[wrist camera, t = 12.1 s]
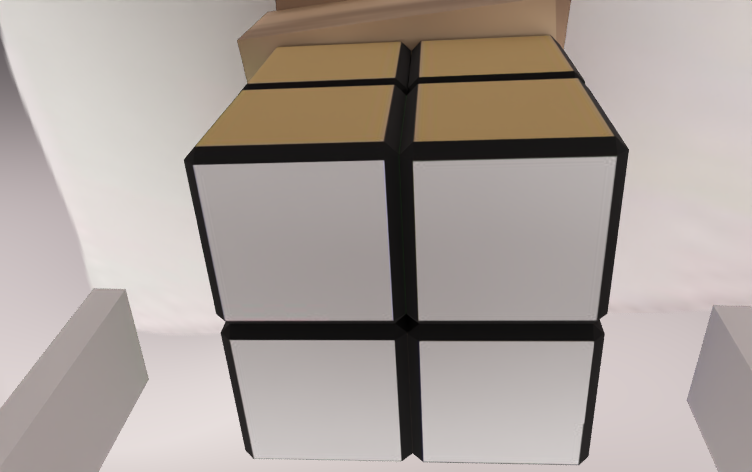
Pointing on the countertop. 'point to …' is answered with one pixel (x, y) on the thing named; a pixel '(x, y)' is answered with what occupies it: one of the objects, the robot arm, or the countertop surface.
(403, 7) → the tower top
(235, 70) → the countertop surface
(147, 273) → the countertop surface
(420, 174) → the puzzle cube
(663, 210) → the countertop surface
